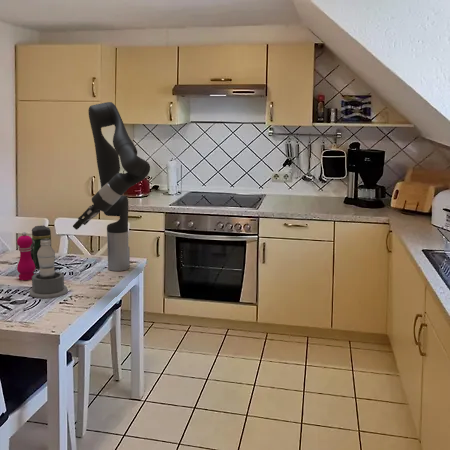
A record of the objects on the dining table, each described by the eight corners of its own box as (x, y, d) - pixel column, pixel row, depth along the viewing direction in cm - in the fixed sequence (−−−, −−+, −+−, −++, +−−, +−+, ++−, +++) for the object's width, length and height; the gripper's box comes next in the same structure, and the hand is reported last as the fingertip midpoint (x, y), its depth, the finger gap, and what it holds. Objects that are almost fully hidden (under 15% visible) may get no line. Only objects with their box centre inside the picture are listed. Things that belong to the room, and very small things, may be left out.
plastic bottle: (60, 289, 212) (58, 239, 208) (46, 294, 207) (43, 242, 203) (50, 286, 216) (47, 237, 212) (35, 290, 211) (32, 240, 207)
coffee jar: (53, 268, 246) (51, 227, 242) (35, 270, 242) (33, 229, 239) (50, 262, 254) (48, 223, 251) (32, 264, 251) (30, 225, 247)
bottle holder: (47, 284, 222) (46, 269, 221) (75, 289, 216) (74, 273, 215) (21, 294, 209) (20, 278, 208) (49, 300, 204) (49, 283, 202)
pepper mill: (30, 281, 226) (27, 234, 222) (14, 280, 228) (11, 233, 224) (39, 276, 233) (36, 230, 229) (23, 275, 234) (21, 229, 231)
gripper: (105, 186, 213) (78, 215, 216) (93, 192, 199) (64, 222, 202) (119, 200, 213) (92, 228, 217) (108, 207, 199) (79, 236, 203)
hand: (78, 225), depth 209 cm, fingers open, 8 cm apart
